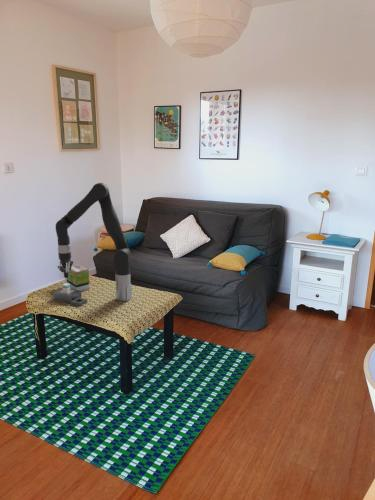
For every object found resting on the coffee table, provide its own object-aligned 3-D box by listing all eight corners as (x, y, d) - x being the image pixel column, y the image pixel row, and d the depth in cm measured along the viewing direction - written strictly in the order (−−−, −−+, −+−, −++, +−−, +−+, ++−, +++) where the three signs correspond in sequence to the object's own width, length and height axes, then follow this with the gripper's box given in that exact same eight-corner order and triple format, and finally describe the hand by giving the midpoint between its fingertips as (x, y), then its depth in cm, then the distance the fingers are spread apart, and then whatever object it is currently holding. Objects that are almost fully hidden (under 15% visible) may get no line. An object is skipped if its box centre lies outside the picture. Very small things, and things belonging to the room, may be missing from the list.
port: (81, 297, 249) (81, 290, 247) (71, 303, 240) (71, 295, 238) (63, 294, 253) (63, 286, 252) (53, 299, 244) (52, 292, 243)
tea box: (66, 286, 268) (65, 266, 264) (79, 283, 274) (78, 263, 270) (76, 292, 257) (75, 271, 253) (90, 289, 264) (89, 268, 260)
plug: (70, 296, 247) (70, 283, 245) (67, 298, 244) (66, 285, 242) (66, 296, 248) (65, 282, 246) (63, 298, 245) (62, 284, 243)
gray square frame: (87, 302, 242) (87, 299, 241) (80, 306, 236) (80, 303, 235) (77, 300, 244) (77, 297, 244) (70, 304, 238) (70, 301, 238)
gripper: (62, 254, 232) (64, 281, 237) (76, 249, 244) (77, 275, 249) (52, 253, 235) (54, 280, 239) (66, 248, 247) (68, 273, 251)
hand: (66, 277), depth 244 cm, fingers closed
